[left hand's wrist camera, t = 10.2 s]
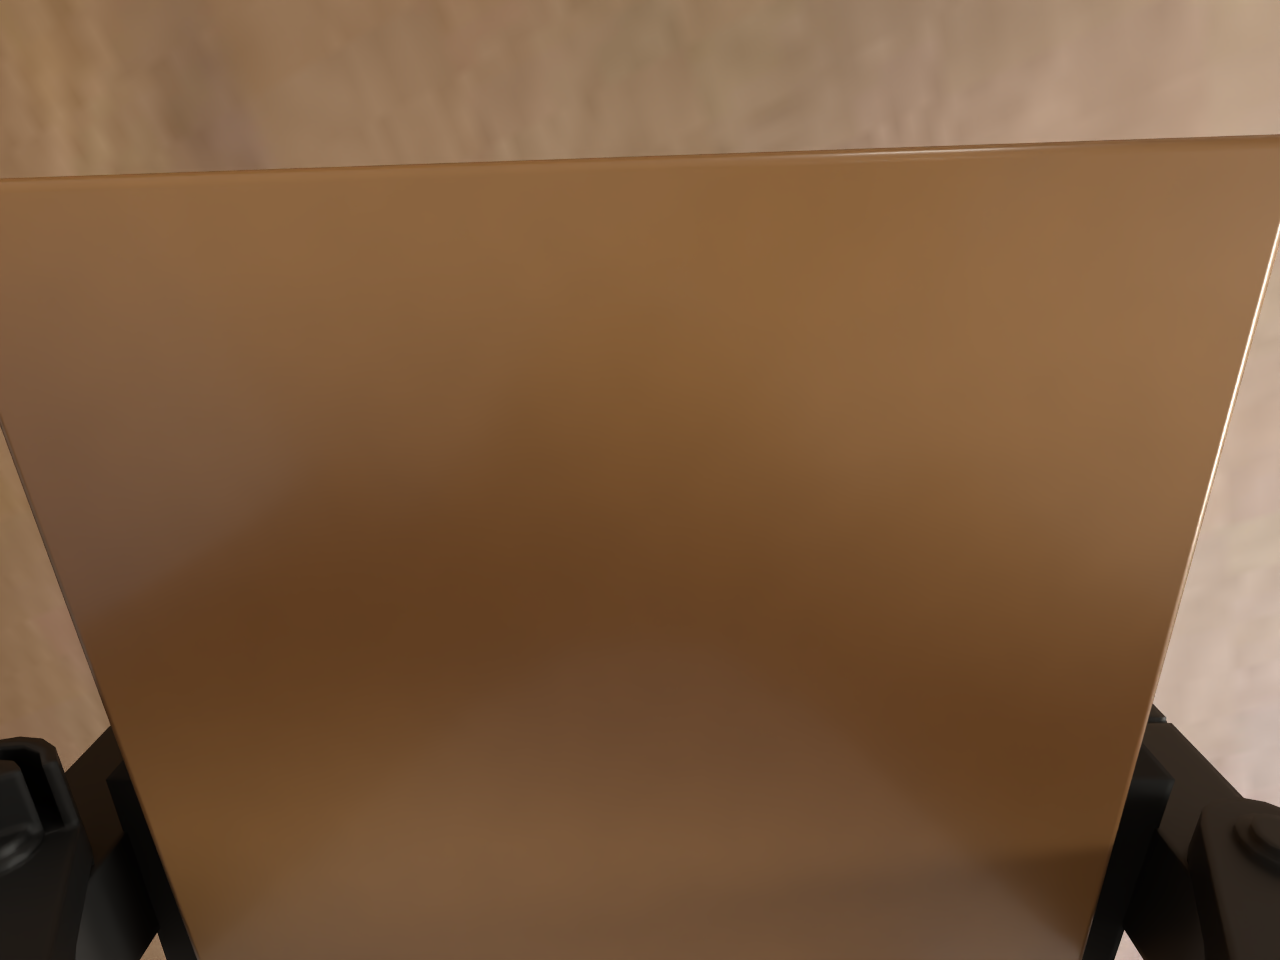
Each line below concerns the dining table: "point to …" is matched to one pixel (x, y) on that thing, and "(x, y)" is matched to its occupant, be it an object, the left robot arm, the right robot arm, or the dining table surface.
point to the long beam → (634, 532)
